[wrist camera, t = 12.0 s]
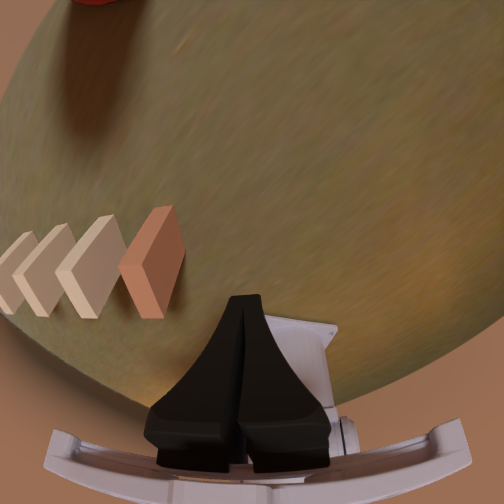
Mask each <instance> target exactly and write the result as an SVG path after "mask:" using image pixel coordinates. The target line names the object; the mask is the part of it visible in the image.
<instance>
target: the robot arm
mask: <svg viewBox="0 0 504 504" xmlns="http://www.w3.org/2000/svg"><path fill="white" fill-rule="evenodd" d="M337 331H338V328H337V326H336V325H332V324H324V323H316V322H309V321H302V320H295V319H288V318H281V317H275V316H269V315H264V312H263V309H262V302H261V296H260V295H259V294H252V295H239V296H231V297H230V298H229V301H228V304H227V306H226V309H225V311H224V313H223V316H222V318H221V320H220V322H219V324H218V326H217V328H216V330H215V332H214V334H213V335H212V337H211V339H210V340H209V342H208V344H207V346H206V347H205V349H204V350H203V352H202V353H201V355H200V356H199V357H198V359H197V360H196V362H195V363H194V364H193V365H192V367H191V368H190V369H189V370H188V372H187V373H186V374H185V375H184V376H183V377H182V379H181V380H180V381H179V382H178V383H177V384H176V385H175V386H174V387H173V388H172V389H171V390H170V391H169V392H168V393H167V394H166V395H164V396H163V397H162V398H161V399H160V400H159V401H157V402H156V403H155V404H154V405H153V406H151V408H150V411H149V414H148V416H147V420H146V424H145V429H144V437H145V438H146V439H147V440H148V441H149V442H150V443H152V444H153V445H154V446H156V447H157V448H158V455H157V458H155V457H150V456H144V455H138V454H133V453H128V452H123V451H119V450H114V449H110V448H106V447H102V446H98V445H95V444H91V443H88V442H84V441H81V440H80V439H79V438H77V437H76V436H74V435H72V434H70V433H67V432H64V431H61V430H58V429H56V428H55V429H54V431H53V434H52V437H51V441H50V444H49V447H48V451H47V454H46V458H45V462H44V468H45V469H47V470H49V471H51V472H53V473H55V474H57V475H59V476H61V477H64V478H66V479H68V480H70V481H72V482H75V483H77V484H80V485H83V486H85V487H88V488H91V489H93V490H96V491H99V492H102V493H105V494H108V495H112V496H115V497H118V498H122V499H125V500H129V501H132V502H136V503H140V504H367V503H371V502H375V501H379V500H383V499H386V498H390V497H393V496H396V495H399V494H402V493H405V492H408V491H411V490H414V489H417V488H420V487H422V486H425V485H428V484H430V483H432V482H435V481H437V480H440V479H442V478H445V477H447V476H449V475H451V474H453V473H455V472H457V471H459V470H461V469H463V468H464V467H466V466H468V465H470V464H471V463H472V459H471V455H470V451H469V448H468V444H467V441H466V438H465V434H464V431H463V427H462V424H461V421H460V418H456V419H453V420H451V421H448V422H446V423H443V424H440V425H438V426H436V427H434V428H433V429H432V430H431V431H430V432H429V433H428V434H425V435H422V436H419V437H416V438H412V439H409V440H406V441H403V442H399V443H396V444H392V445H388V446H384V447H381V448H377V449H372V450H368V451H363V452H360V448H359V442H358V436H357V431H356V427H355V424H354V422H353V421H352V420H350V419H348V417H347V416H343V417H340V425H339V420H338V414H337V408H336V407H334V401H333V395H332V389H331V384H330V378H329V372H328V367H327V361H326V356H325V351H324V350H325V349H326V347H327V346H328V344H329V343H330V341H331V340H332V339H333V337H334V336H335V334H336V333H337ZM172 475H176V476H184V477H194V478H205V479H220V480H221V479H222V480H230V482H231V483H229V482H209V481H197V480H187V479H179V478H178V477H176V476H172Z"/></svg>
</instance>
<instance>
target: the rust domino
mask: <svg viewBox="0 0 504 504" xmlns="http://www.w3.org/2000/svg"><path fill="white" fill-rule="evenodd" d="M185 252H186V251H185V247H184V244H183V240H182V236H181V233H180V229H179V225H178V221H177V218H176V214H175V210H174V206H173V205H170V206H163V207H156V208H154V209H153V210H152V212H151V213H150V215H149V216H148V218H147V219H146V221H145V222H144V224H143V225H142V227H141V229H140V230H139V232H138V233H137V235H136V236H135V238H134V240H133V241H132V243H131V245H130V246H129V248H128V249H127V251H126V253H125V254H124V256H123V258H122V259H121V261H120V263H119V265H118V268H119V271H120V273H121V275H122V277H123V280H124V282H125V284H126V286H127V288H128V290H129V293H130V295H131V297H132V299H133V301H134V303H135V305H136V307H137V309H138V311H139V313H140V315H141V317H142V318H164V317H165V314H166V311H167V307H168V304H169V301H170V298H171V294H172V291H173V288H174V285H175V282H176V279H177V276H178V273H179V270H180V267H181V264H182V261H183V258H184V255H185Z"/></svg>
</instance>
